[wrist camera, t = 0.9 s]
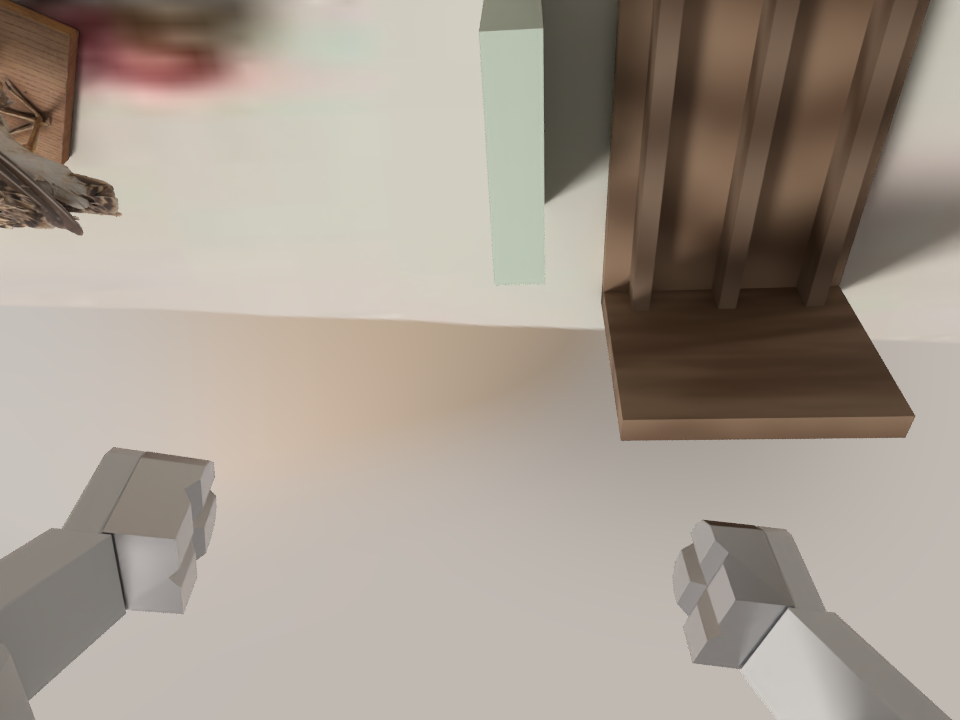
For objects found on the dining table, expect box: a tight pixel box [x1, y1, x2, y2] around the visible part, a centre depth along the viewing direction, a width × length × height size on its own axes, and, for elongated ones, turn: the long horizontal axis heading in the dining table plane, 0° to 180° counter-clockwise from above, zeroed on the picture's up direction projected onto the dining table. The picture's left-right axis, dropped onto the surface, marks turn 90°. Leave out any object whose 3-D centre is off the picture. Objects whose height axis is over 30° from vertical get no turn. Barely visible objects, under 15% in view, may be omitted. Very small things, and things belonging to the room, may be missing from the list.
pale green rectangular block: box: [479, 0, 545, 285], centre depth 35 cm, size 12×2×8 cm, turn 4°
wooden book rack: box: [601, 0, 930, 441], centre depth 32 cm, size 26×14×12 cm, turn 4°
